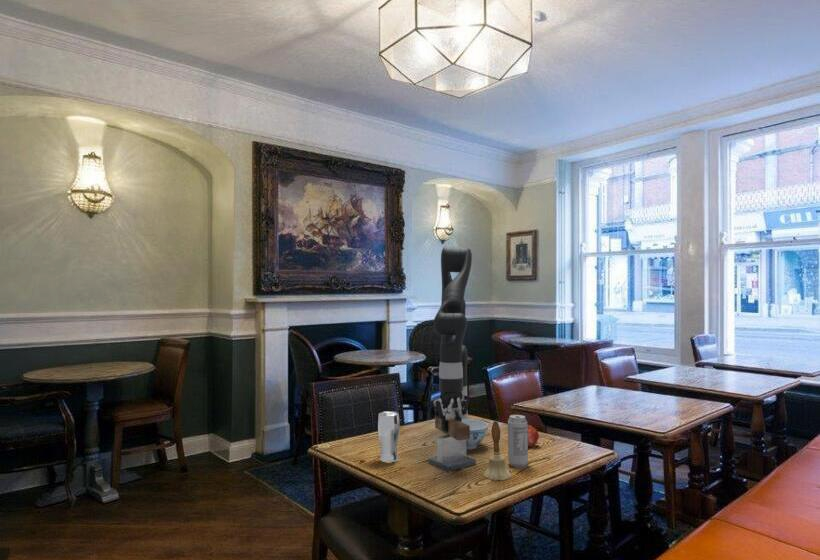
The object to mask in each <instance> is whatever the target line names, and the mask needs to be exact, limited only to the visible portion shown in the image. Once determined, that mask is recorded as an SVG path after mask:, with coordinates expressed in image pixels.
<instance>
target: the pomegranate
mask: <svg viewBox="0 0 820 560" xmlns="http://www.w3.org/2000/svg"><path fill="white" fill-rule="evenodd" d="M527 437H528V447H530V448H531V447H534V446H535V445H536V444H538V440H539V438H540V436H539V432H538V429H536V428H534V427H533V426H532V425H530V424H527Z"/></svg>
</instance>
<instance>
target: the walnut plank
mask: <svg viewBox="0 0 820 560" xmlns="http://www.w3.org/2000/svg"><path fill="white" fill-rule="evenodd" d="M448 420H449V422H448V432H444V431H443V430H442V424H441V419H440V418H437V417H436V415H434V427H435V429H437V430H439V431H440V432H442V433H444V435H449V436H451V437H452V438H454V439H456V440H458V441H459V440H467V439H470V426H469V425H467V424H465V423H463V422H461V421H459V420H457V419H454V418H452V417H450V416H449V417H448Z"/></svg>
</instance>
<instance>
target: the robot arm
mask: <svg viewBox="0 0 820 560" xmlns="http://www.w3.org/2000/svg"><path fill="white" fill-rule="evenodd" d="M440 253H441V254H440V269H441V270H440V271H441V275H440V276H441V303H440V304H441V305H440V307H439V310H438V311H437V313H436V315H434V319H433V330H434V332H435V333H436V334H437V335H440V336H441V337H440V346H439V368H438V369H439V370H438V376H439V378H438V379H439V380H438V383H439V386H438V387H439V392H440V396H439V398H436V399H432V402H431V403H432V406H433V411H434V416H436V417H437V418H440V419H441V424H442V430H443V431H444V432H448V422H449V420H448V417H449V416H450V417H452V418H454V419H457V420H459V421H461V422H462V419H468V416H469V415H468V408H469V404H470V400H471V398H470V395H468V348H467V346H466V345H464V344H463V342H464V338H465V334H466V330H467V326H468V319H467V317H466V309H467V308H466V305H467V304H466V300H465V292H466V287H467V284H468V281H469V276H470V274H471V270H472V269H471V268H472V263H473V262H472V260H473V254H472V250H471V249H470V248H469V247H464V246H463V247H462V246H444V247H443V248H442V249H441V252H440ZM451 273H458V274H457V275H456V276H455V277H453V278H452V274H451ZM454 336H455V337H454ZM453 337H454V339H453ZM452 339H453V340H452ZM444 432H443V433H444Z"/></svg>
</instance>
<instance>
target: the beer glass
mask: <svg viewBox="0 0 820 560" xmlns="http://www.w3.org/2000/svg"><path fill="white" fill-rule="evenodd" d="M377 432H378V433H377V434H378V439H379V444H380V454H379V455H380V456H379V461H380V462H381V461H382V462H395V463H397V462H398V461H399V454H398V445H399V443H398V442H399V439H400V438H399V437H400V415H399V412H397V411H382V412H379V413H378V420H377ZM396 461H397V462H396ZM382 462H381V463H382Z"/></svg>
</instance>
